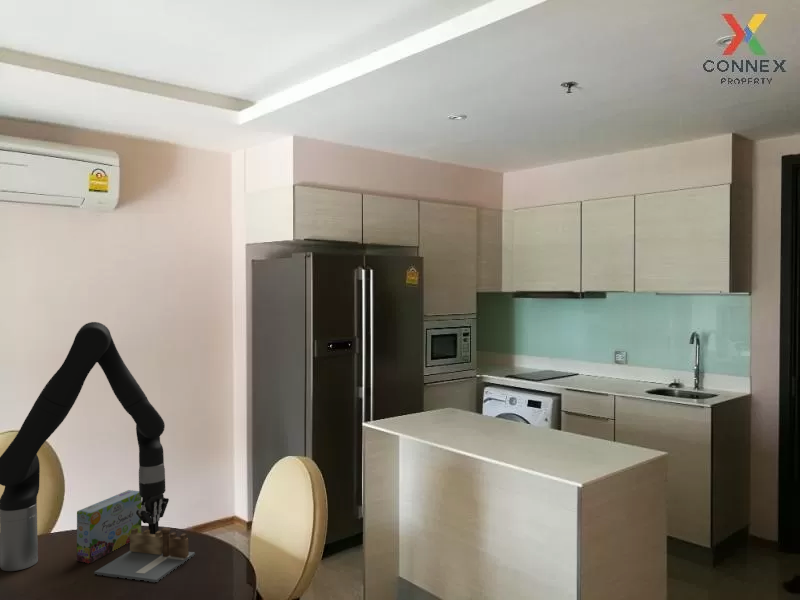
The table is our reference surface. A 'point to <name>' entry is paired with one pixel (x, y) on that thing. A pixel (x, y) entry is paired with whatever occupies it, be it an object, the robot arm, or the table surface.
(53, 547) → the table surface
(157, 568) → the board
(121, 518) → the snack box
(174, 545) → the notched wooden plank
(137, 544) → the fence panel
